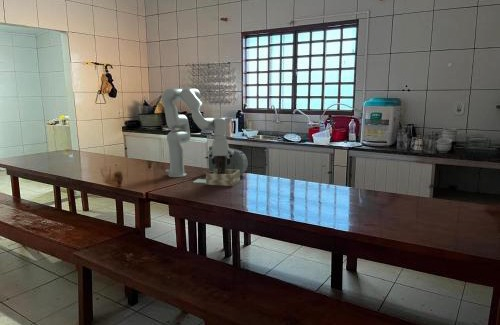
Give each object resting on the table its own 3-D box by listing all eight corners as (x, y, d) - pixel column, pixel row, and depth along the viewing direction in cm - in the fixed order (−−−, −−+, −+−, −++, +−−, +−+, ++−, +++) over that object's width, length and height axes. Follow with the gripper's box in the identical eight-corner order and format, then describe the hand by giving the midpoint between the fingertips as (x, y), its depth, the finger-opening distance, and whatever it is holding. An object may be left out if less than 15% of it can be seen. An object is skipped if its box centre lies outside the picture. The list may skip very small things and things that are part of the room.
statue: (214, 181, 234) (213, 151, 230) (224, 180, 237) (224, 150, 233) (217, 184, 228) (216, 152, 224) (228, 182, 231) (227, 152, 227)
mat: (192, 182, 232) (192, 182, 232) (197, 179, 241) (197, 178, 241) (205, 183, 230) (205, 182, 230) (210, 179, 239) (210, 179, 239)
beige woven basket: (206, 184, 227) (205, 173, 226) (214, 179, 241) (213, 168, 240) (233, 185, 223) (233, 174, 221) (240, 180, 237) (239, 169, 236)
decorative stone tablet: (207, 145, 254) (245, 152, 241) (212, 144, 260) (249, 150, 246) (206, 172, 259) (243, 179, 245) (211, 170, 264) (247, 177, 251)
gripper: (205, 138, 225) (206, 165, 228) (231, 138, 221) (232, 165, 224) (209, 137, 232) (210, 163, 235) (235, 137, 228) (236, 163, 231)
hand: (221, 164), depth 230 cm, fingers open, 9 cm apart
